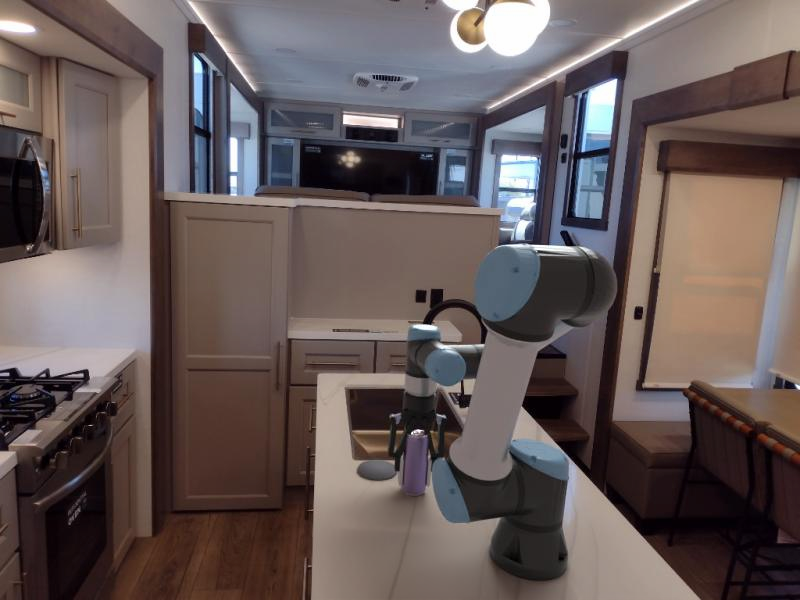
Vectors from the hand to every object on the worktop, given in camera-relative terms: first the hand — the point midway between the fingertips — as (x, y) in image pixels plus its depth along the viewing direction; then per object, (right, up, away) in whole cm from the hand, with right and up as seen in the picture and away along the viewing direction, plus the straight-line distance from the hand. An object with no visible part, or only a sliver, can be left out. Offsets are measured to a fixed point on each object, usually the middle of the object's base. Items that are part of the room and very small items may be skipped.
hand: (413, 483), depth 139 cm
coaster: (-9, 0, +9) cm, 13 cm away
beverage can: (0, -2, 0) cm, 2 cm away
